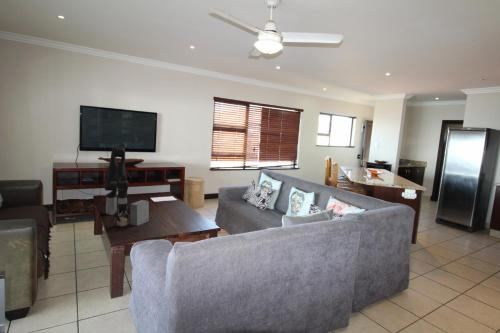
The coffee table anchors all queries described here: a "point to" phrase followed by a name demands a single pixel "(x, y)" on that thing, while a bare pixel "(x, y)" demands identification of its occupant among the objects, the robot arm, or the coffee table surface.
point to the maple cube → (122, 222)
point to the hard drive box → (139, 212)
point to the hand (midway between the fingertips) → (122, 219)
